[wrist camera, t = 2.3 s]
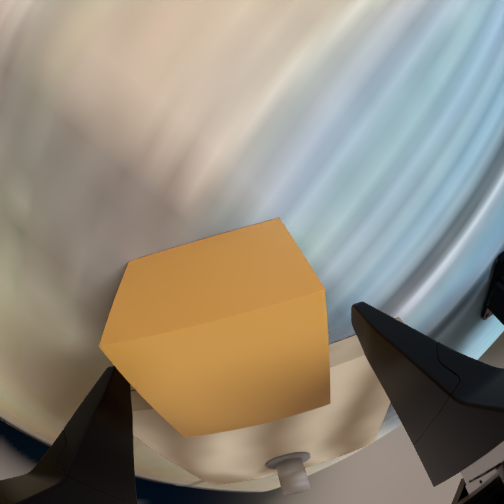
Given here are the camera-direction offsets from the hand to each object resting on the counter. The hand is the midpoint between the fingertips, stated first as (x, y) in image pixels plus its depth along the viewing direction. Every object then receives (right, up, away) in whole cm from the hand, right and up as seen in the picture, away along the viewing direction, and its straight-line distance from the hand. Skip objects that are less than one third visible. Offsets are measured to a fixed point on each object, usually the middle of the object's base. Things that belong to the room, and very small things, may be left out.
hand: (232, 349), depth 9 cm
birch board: (+3, -11, +10) cm, 15 cm away
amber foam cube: (0, +1, +2) cm, 3 cm away
